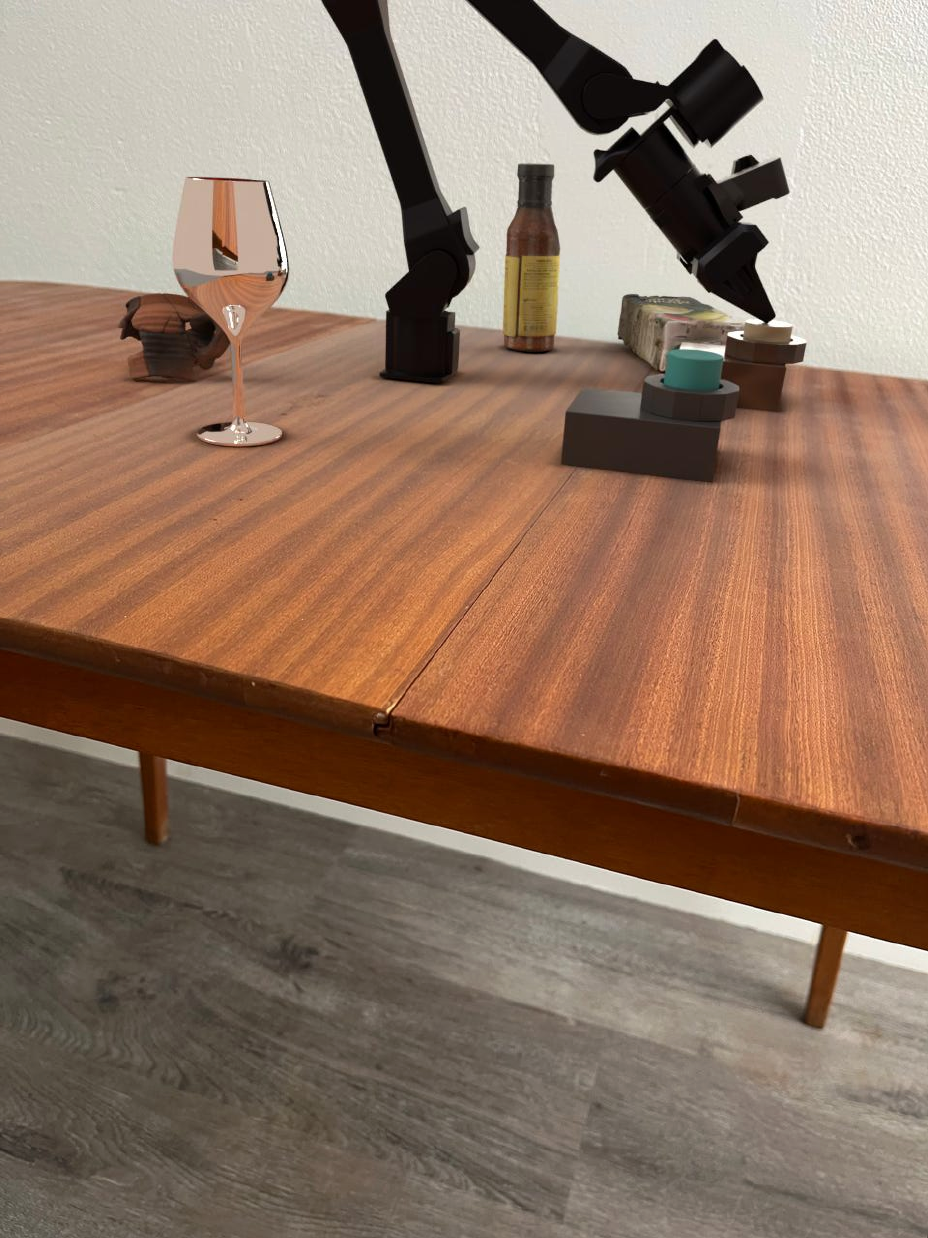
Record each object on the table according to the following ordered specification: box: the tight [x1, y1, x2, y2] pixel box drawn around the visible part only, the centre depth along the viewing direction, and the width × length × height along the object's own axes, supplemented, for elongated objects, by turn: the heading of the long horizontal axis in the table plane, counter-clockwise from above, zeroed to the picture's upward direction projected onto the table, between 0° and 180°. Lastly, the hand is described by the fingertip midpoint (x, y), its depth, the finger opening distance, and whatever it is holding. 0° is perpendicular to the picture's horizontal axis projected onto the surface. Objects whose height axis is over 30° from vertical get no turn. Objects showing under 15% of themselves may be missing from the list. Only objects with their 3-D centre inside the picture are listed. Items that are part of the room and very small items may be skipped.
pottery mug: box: [117, 292, 230, 382], centre depth 94 cm, size 12×10×8 cm
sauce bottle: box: [502, 162, 561, 353], centre depth 112 cm, size 6×6×20 cm
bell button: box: [743, 318, 794, 342], centre depth 95 cm, size 4×4×3 cm
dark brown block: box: [560, 373, 739, 483], centre depth 75 cm, size 12×9×6 cm
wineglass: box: [171, 176, 291, 447], centre depth 72 cm, size 8×8×18 cm
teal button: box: [664, 349, 724, 391], centre depth 73 cm, size 4×4×2 cm
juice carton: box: [617, 293, 745, 372], centre depth 114 cm, size 20×10×6 cm, turn 7°
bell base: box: [680, 331, 808, 413], centre depth 96 cm, size 12×9×6 cm
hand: (771, 319), depth 94 cm, fingers closed, pressing on bell button
